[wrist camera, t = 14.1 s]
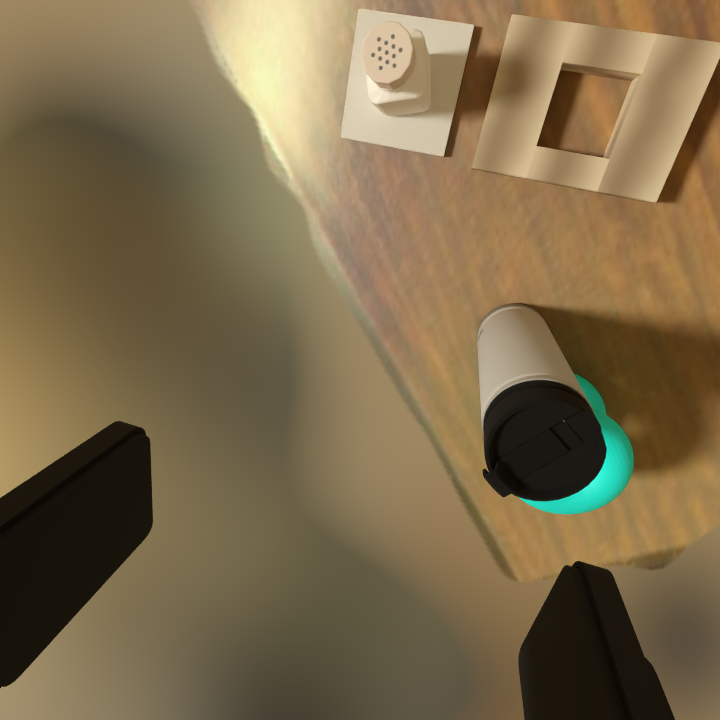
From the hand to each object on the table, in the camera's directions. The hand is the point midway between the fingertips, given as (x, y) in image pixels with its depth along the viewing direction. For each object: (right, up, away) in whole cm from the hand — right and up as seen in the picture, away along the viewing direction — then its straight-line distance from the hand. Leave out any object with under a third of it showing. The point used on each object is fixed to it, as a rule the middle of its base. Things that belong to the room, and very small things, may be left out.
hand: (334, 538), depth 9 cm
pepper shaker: (+4, +26, +25) cm, 36 cm away
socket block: (+18, +23, +23) cm, 37 cm away
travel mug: (+15, +6, +31) cm, 35 cm away
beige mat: (+4, +26, +25) cm, 37 cm away
